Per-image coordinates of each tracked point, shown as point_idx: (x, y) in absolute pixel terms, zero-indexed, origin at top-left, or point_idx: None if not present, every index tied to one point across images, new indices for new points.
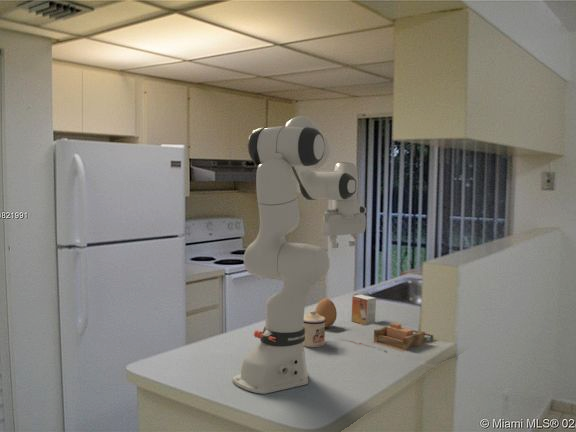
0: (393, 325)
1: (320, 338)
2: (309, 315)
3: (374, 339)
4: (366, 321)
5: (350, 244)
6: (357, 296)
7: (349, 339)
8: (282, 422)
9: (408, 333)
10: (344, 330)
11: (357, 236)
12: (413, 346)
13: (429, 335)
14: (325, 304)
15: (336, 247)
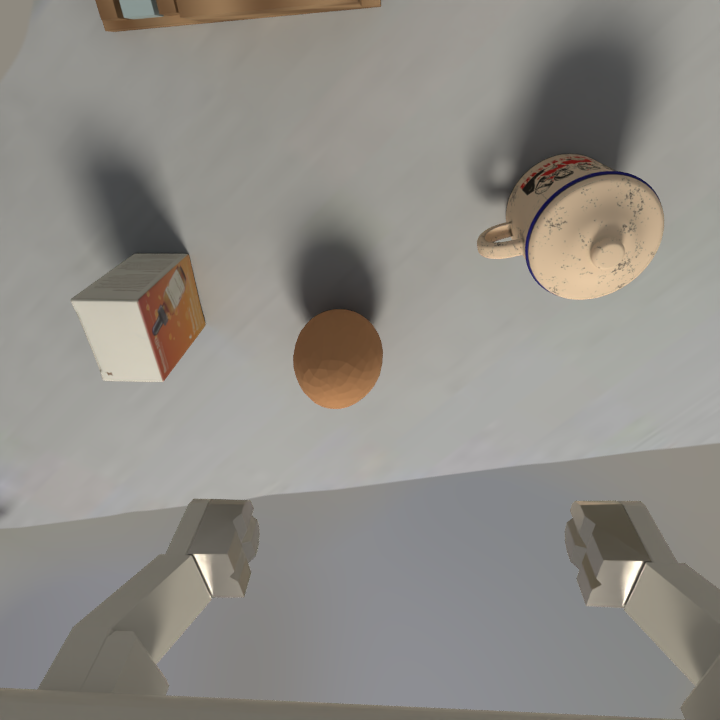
0: None
1: (583, 159)
2: (633, 244)
3: (360, 2)
4: (181, 258)
5: (249, 539)
6: (147, 363)
7: (389, 153)
8: None
9: None
10: (312, 258)
11: (79, 629)
12: None
13: None
14: (357, 367)
15: (621, 503)
